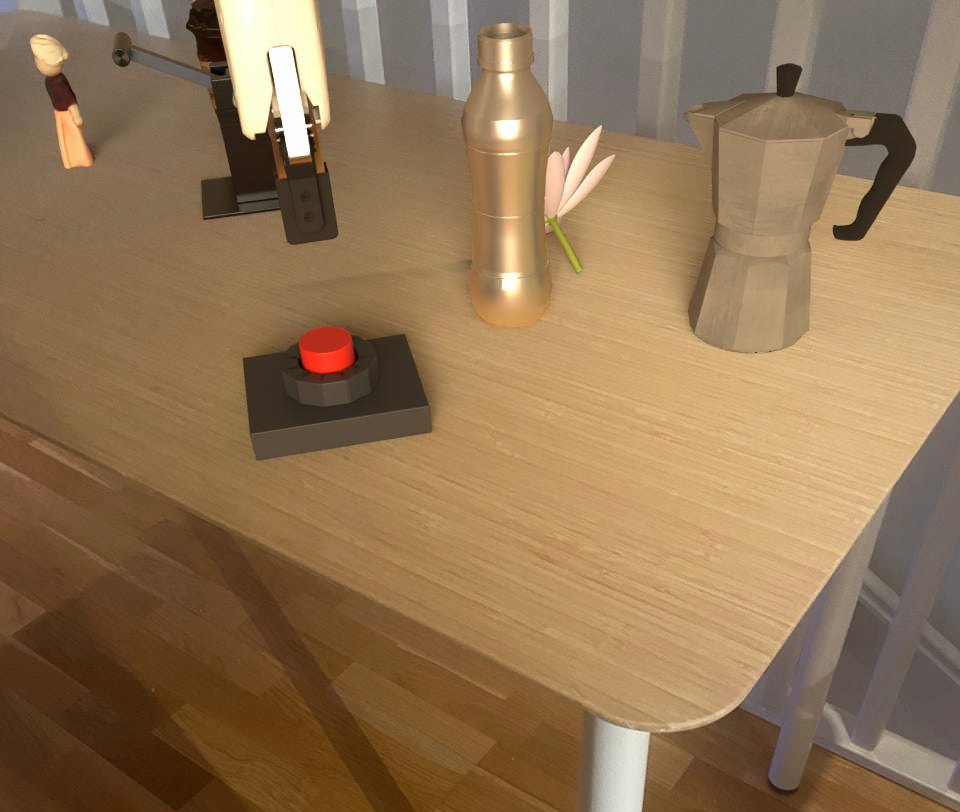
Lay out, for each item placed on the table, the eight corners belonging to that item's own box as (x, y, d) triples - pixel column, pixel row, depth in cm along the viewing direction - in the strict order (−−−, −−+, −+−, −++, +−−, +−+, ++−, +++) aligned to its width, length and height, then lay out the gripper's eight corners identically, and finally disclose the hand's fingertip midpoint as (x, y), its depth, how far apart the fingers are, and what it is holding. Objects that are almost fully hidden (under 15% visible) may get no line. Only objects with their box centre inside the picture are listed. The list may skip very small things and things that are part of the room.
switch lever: (110, 69, 83) (114, 39, 82) (112, 52, 86) (116, 23, 85) (253, 119, 88) (259, 91, 87) (250, 100, 91) (256, 73, 90)
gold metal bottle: (541, 292, 81) (542, 11, 66) (560, 333, 76) (565, 40, 62) (464, 302, 80) (447, 21, 66) (478, 343, 75) (464, 51, 61)
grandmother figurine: (51, 167, 105) (5, 31, 95) (84, 156, 106) (42, 22, 97) (85, 186, 100) (40, 47, 91) (119, 175, 102) (78, 37, 93)
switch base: (256, 461, 66) (243, 410, 63) (248, 384, 73) (236, 334, 70) (431, 433, 67) (427, 382, 65) (408, 359, 74) (402, 310, 71)
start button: (305, 380, 66) (300, 356, 65) (300, 353, 69) (296, 330, 67) (358, 372, 66) (354, 348, 65) (351, 345, 69) (348, 322, 68)
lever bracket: (205, 229, 92) (171, 91, 83) (203, 192, 98) (171, 60, 90) (322, 214, 93) (300, 76, 85) (313, 178, 99) (292, 47, 91)
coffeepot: (646, 339, 75) (669, 78, 62) (679, 284, 81) (706, 35, 68) (855, 375, 70) (927, 101, 57) (874, 313, 76) (943, 52, 63)
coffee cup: (221, 158, 104) (190, 18, 95) (203, 133, 110) (172, -2, 100) (300, 142, 106) (277, 3, 97) (279, 119, 112) (255, -15, 102)
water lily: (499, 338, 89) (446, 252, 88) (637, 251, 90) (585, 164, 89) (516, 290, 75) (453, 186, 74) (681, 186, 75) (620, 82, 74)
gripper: (168, -149, 53) (246, 199, 66) (166, -100, 42) (259, 301, 56) (307, -164, 53) (356, 183, 67) (338, -119, 43) (390, 280, 56)
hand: (312, 236), depth 61 cm, fingers closed
